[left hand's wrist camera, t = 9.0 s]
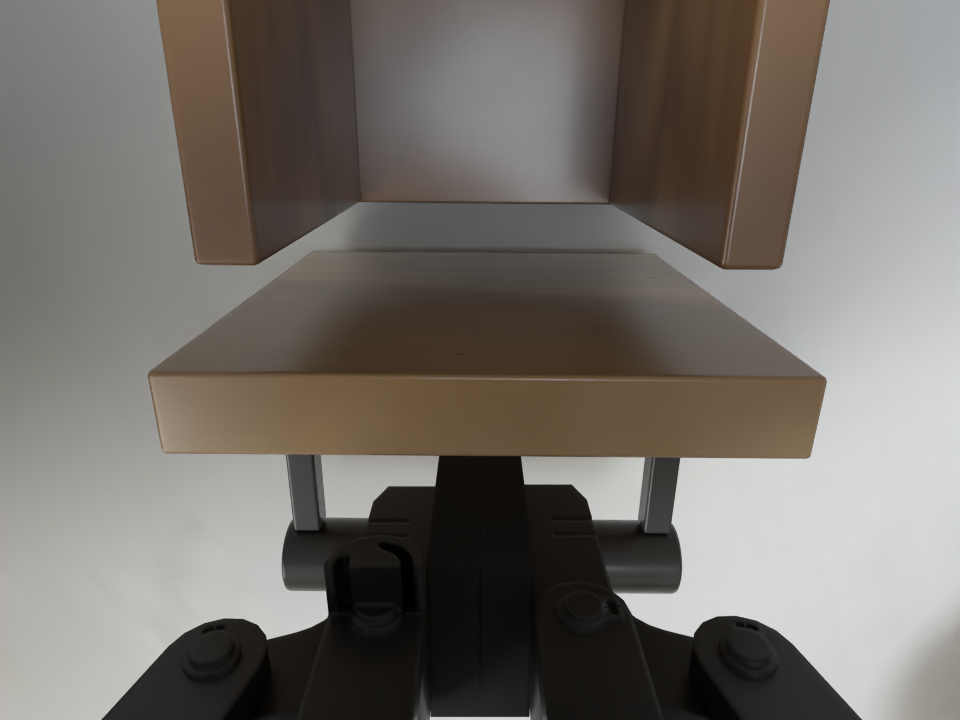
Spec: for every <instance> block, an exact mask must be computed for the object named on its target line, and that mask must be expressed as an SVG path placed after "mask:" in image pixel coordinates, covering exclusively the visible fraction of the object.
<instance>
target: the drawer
mask: <svg viewBox="0 0 960 720" xmlns="http://www.w3.org/2000/svg"><path fill="white" fill-rule="evenodd" d="M829 2H830V0H156V3H157V9H158V16H159V23H160V29H161V36H162V43H163V49H164V56H165V62H166V69H167V76H168V82H169V89H170V96H171V102H172V109H173V116H174V122H175V129H176V135H177V142H178V149H179V155H180V162H181V169H182V175H183V182H184V189H185V195H186V202H187V208H188V215H189V222H190V228H191V235H192V242H193V248H194V255H195V260H196V262H197V263H198V264H201V265H256V264H259V263H260V262H262V261H264V260H265V259H267V258H269V257H270V256H272V255H273V254H275V253H277V252H278V251H280V250H282V249H283V248H285V247H286V246H288V245H290V244H291V243H293V242H295V241H296V240H298V239H299V238H301V237H303V236H304V235H306V234H308V233H309V232H311V231H312V230H314V229H316V228H317V227H319V226H321V225H322V224H324V223H326V222H327V221H329V220H330V219H332V218H334V217H335V216H337V215H339V214H340V213H342V212H343V211H345V210H347V209H348V208H350V207H352V206H353V205H355V204H356V203H358V202H412V203H514V204H612V205H613V206H615V207H617V208H619V209H620V210H622V211H624V212H625V213H627V214H629V215H631V216H632V217H634V218H636V219H638V220H639V221H641V222H643V223H644V224H646V225H648V226H650V227H651V228H653V229H655V230H656V231H658V232H660V233H662V234H663V235H665V236H667V237H669V238H670V239H672V240H674V241H675V242H677V243H679V244H681V245H682V246H684V247H686V248H687V249H689V250H691V251H693V252H694V253H696V254H698V255H699V256H701V257H703V258H705V259H706V260H708V261H710V262H712V263H713V264H715V265H717V266H718V267H720V268H723V269H737V270H774V269H777V268H780V267H781V265H782V262H783V257H784V251H785V246H786V240H787V235H788V229H789V224H790V218H791V213H792V207H793V201H794V196H795V190H796V185H797V179H798V174H799V168H800V163H801V157H802V152H803V146H804V140H805V135H806V129H807V124H808V118H809V113H810V107H811V102H812V96H813V91H814V85H815V79H816V74H817V68H818V63H819V57H820V52H821V46H822V41H823V35H824V30H825V24H826V18H827V13H828V7H829ZM148 379H149V384H150V389H151V395H152V400H153V405H154V410H155V416H156V421H157V426H158V432H159V437H160V442H161V447H162V451H163V452H164V453H192V454H286V460H287V469H288V478H289V487H290V496H291V505H292V514H293V520H292V521H291V523H290V525H289V527H288V529H287V532H286V536H285V540H284V545H283V552H282V576H283V581H284V585H285V587H286V588H287V589H288V590H290V591H326V584H325V575H324V563H325V562H326V560H327V559H328V557H329V556H330V554H331V553H332V552H333V551H335V550H336V549H337V548H339V547H340V546H342V545H343V544H344V543H346V542H349V541H352V540H355V539H357V538H360V537H364V533H365V530H366V526H367V523H368V519H369V518H325V517H326V510H325V499H324V488H323V477H322V466H321V455H433V456H553V457H645V464H644V472H643V481H642V490H641V498H640V507H639V516H638V519H639V520H592V521H593V523H594V527H595V530H596V535H597V537H598V541H599V544H600V548H601V551H602V555H603V558H604V562H605V565H606V569H607V572H608V575H609V579H610V582H611V586H612V589H613V592H614V593H656V594H672V593H675V592H676V591H677V590H678V588H679V586H680V581H681V575H682V556H681V548H680V543H679V539H678V535H677V532H676V530H675V528H674V526H673V524H672V523H671V521H672V514H673V506H674V499H675V492H676V485H677V477H678V470H679V463H680V458H795V459H807V458H809V457H810V456H811V451H812V447H813V442H814V438H815V433H816V429H817V424H818V419H819V415H820V410H821V406H822V401H823V397H824V392H825V388H826V383H827V382H826V378H825V377H824V376H822V375H821V374H820V373H818V372H817V371H816V370H814V369H813V368H811V367H810V366H809V365H807V364H806V363H804V362H803V361H802V360H800V359H799V358H798V357H796V356H795V355H793V354H792V353H791V352H789V351H788V350H786V349H785V348H784V347H782V346H781V345H780V344H778V343H777V342H775V341H774V340H773V339H771V338H770V337H769V336H767V335H766V334H764V333H763V332H762V331H760V330H759V329H757V328H756V327H755V326H753V325H752V324H751V323H749V322H748V321H746V320H745V319H744V318H742V317H741V316H739V315H738V314H737V313H735V312H734V311H733V310H731V309H730V308H728V307H727V306H726V305H724V304H723V303H721V302H720V301H719V300H717V299H716V298H715V297H713V296H712V295H710V294H709V293H708V292H706V291H705V290H703V289H702V288H701V287H699V286H698V285H697V284H695V283H694V282H692V281H691V280H690V279H688V278H687V277H685V276H684V275H683V274H681V273H680V272H679V271H677V270H676V269H674V268H673V267H672V266H670V265H669V264H668V263H666V262H665V261H663V260H662V259H661V258H659V257H658V256H656V255H655V254H583V253H478V252H373V251H312V252H311V253H309V254H308V255H307V256H305V257H304V258H303V259H301V260H300V261H299V262H297V263H296V264H295V265H293V266H292V267H290V268H289V269H288V270H286V271H285V272H284V273H282V274H281V275H280V276H278V277H277V278H276V279H274V280H273V281H271V282H270V283H269V284H267V285H266V286H265V287H263V288H262V289H261V290H259V291H258V292H257V293H255V294H254V295H253V296H251V297H250V298H248V299H247V300H246V301H244V302H243V303H242V304H240V305H239V306H238V307H236V308H235V309H234V310H232V311H231V312H229V313H228V314H227V315H225V316H224V317H223V318H221V319H220V320H219V321H217V322H216V323H215V324H213V325H212V326H211V327H209V328H208V329H206V330H205V331H204V332H202V333H201V334H200V335H198V336H197V337H196V338H194V339H193V340H192V341H190V342H189V343H187V344H186V345H185V346H183V347H182V348H181V349H179V350H178V351H177V352H175V353H174V354H173V355H171V356H170V357H169V358H167V359H166V360H164V361H163V362H162V363H160V364H159V365H158V366H156V367H155V368H154V369H152V370H151V371H150V372H149V374H148Z"/></svg>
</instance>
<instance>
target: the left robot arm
mask: <svg viewBox="0 0 960 720" xmlns="http://www.w3.org/2000/svg"><path fill="white" fill-rule="evenodd" d="M324 575H325V584H326V593H327V603H328V612H329V615H328V618H327V619H325V620H324V621H322V622H320V623H319V624H317V625H315V626H313V627H311V628H308V629H305V630H302V631H299V632H296V633H293V634H289V635H285V636H281V637H277V638H273V639H269V640H267V639H266V635H265V634H264V633H263V631H262V630H261V629H260V627H259V626H258V625H256V624H254V623H251V622H249V621H247V620H244V619H221V620H216V621H212V622H208V623H204V624H202V625H200V626H198V627H196V628H194V629H192V630H190V631H188V632H186V633H184V634H183V635H182V636H180V637H179V638H178V639H177V640H176V641H175V642H173V643H172V644H171V645H170V646H169V647H168V648H167V649H166V650H165V651H164V652H163V653H162V654H161V655H160V656H159V657H158V658H157V660H156V661H155V662H154V663H153V664H152V665H151V666H150V667H149V668H148V669H147V671H146V672H145V673H144V674H143V675H142V676H141V677H140V678H139V679H138V680H137V681H136V683H135V684H134V685H133V686H132V687H131V688H130V689H129V690H128V691H127V692H126V694H125V695H124V696H123V697H122V698H121V699H120V700H119V701H118V702H117V703H116V704H115V706H114V707H113V708H112V709H111V710H110V711H109V712H108V713H107V714H106V715H105V717H104V718H103V719H102V720H430V709H431V717H529V710H530V717H531V720H862V719H861V718H860V717H859V716H858V715H857V714H856V713H855V712H854V711H853V709H852V708H851V707H850V706H849V705H848V704H847V703H846V702H845V701H844V700H843V699H842V698H841V696H840V695H839V694H838V693H837V692H836V691H835V690H834V689H833V688H832V687H831V686H830V684H829V683H828V682H827V681H826V680H825V679H824V678H823V677H822V676H821V675H820V674H819V672H818V671H817V670H816V669H815V668H814V667H813V666H812V665H811V664H810V663H809V662H808V661H807V659H806V658H805V657H804V656H803V655H802V654H801V653H800V652H799V651H798V650H797V649H796V647H795V646H794V645H793V644H792V643H790V642H789V641H788V640H787V639H786V638H784V637H783V636H782V635H781V634H780V633H778V632H777V631H776V630H774V629H772V628H770V627H768V626H766V625H764V624H762V623H760V622H758V621H755V620H751V619H747V618H742V617H738V616H719V617H715V618H713V619H710V620H708V621H705V622H703V623H702V624H701V625H700V627H699V628H698V629H697V630H696V632H695V633H694V637H689V636H685V635H681V634H677V633H673V632H669V631H665V630H662V629H659V628H656V627H653V626H650V625H648V624H646V623H644V622H642V621H641V620H639V619H637V618H635V617H634V616H633V615H632V614H631V612H630V610H629V609H628V607H627V605H626V603H625V602H624V600H622V599H621V598H620V597H619V596H618V595H616V594H615V593H614V592H613V589H612V586H611V582H610V579H609V575H608V572H607V569H606V565H605V562H604V558H603V555H602V551H601V548H600V544H599V541H598V537H597V535H596V530H595V527H594V523H593V521H592V516H591V513H590V509H589V506H588V502H587V500H586V499H585V498H584V497H583V496H582V495H581V494H580V493H579V492H578V491H577V490H576V489H575V488H574V487H573V486H572V485H524V478H523V470H522V462H521V456H439V462H438V470H437V478H436V486H389V487H388V488H387V489H386V490H385V491H384V492H383V493H382V494H381V495H380V496H379V497H378V498H377V499H376V500H375V501H374V502H373V505H372V509H371V512H370V516H369V519H368V523H367V526H366V530H365V533H364V537H360V538H357V539H355V540H352V541H349V542H346V543H344V544H343V545H342V546H340V547H339V548H337V549H336V550H335V551H333V552H332V553H331V554H330V556H329V557H328V559H327V560H326V562H325V563H324Z"/></svg>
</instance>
